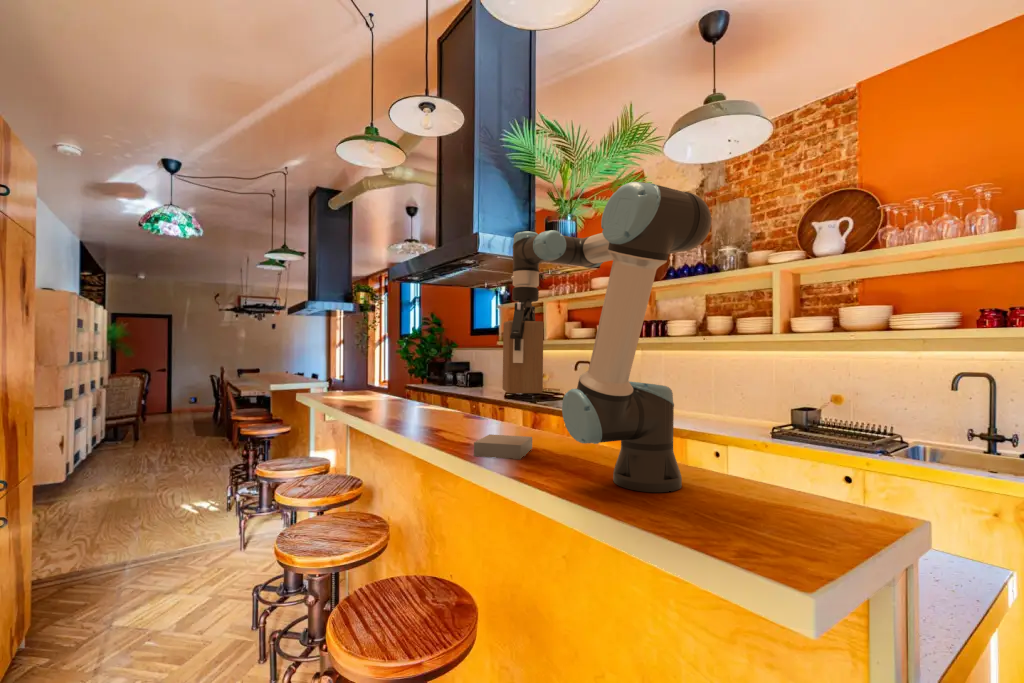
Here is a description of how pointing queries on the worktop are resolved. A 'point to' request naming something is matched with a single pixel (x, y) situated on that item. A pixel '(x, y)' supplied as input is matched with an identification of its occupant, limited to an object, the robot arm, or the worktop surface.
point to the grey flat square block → (503, 446)
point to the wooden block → (524, 360)
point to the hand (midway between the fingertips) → (524, 362)
